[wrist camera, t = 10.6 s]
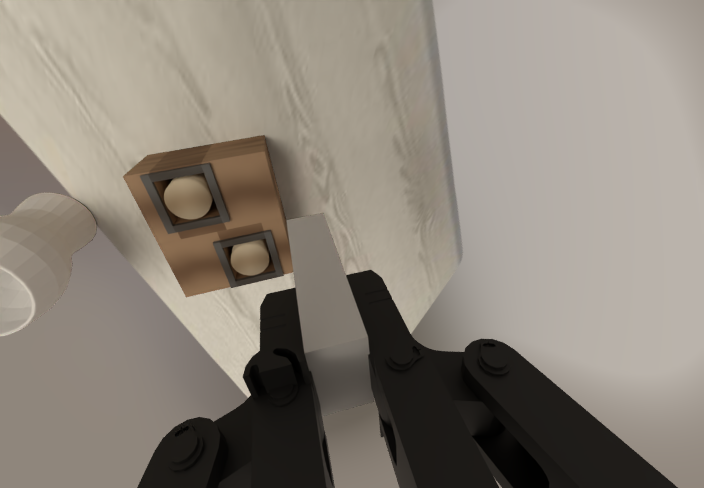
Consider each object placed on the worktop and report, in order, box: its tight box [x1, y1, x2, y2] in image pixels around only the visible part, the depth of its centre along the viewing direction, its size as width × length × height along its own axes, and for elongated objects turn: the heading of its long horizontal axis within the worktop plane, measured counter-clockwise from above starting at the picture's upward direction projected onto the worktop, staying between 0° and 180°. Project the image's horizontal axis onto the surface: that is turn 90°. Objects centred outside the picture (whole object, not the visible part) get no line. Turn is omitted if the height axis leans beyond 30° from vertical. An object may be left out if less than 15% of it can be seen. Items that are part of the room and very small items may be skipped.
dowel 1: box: [164, 173, 213, 219], centre depth 37 cm, size 4×4×8 cm
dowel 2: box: [231, 239, 269, 275], centre depth 42 cm, size 4×4×8 cm
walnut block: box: [123, 135, 293, 297], centre depth 40 cm, size 16×14×8 cm
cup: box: [0, 192, 97, 336], centre depth 33 cm, size 11×11×15 cm
